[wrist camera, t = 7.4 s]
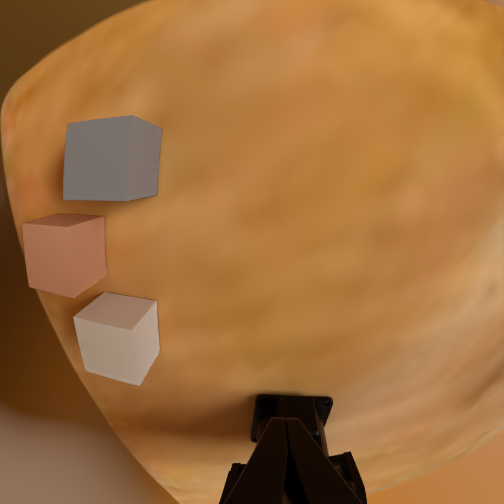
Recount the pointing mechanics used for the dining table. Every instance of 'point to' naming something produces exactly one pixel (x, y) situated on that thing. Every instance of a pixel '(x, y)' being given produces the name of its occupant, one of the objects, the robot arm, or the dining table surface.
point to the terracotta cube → (65, 253)
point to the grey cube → (111, 159)
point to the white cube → (118, 337)
